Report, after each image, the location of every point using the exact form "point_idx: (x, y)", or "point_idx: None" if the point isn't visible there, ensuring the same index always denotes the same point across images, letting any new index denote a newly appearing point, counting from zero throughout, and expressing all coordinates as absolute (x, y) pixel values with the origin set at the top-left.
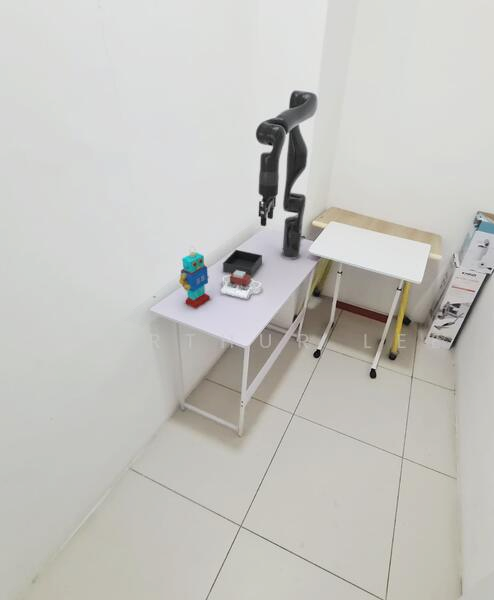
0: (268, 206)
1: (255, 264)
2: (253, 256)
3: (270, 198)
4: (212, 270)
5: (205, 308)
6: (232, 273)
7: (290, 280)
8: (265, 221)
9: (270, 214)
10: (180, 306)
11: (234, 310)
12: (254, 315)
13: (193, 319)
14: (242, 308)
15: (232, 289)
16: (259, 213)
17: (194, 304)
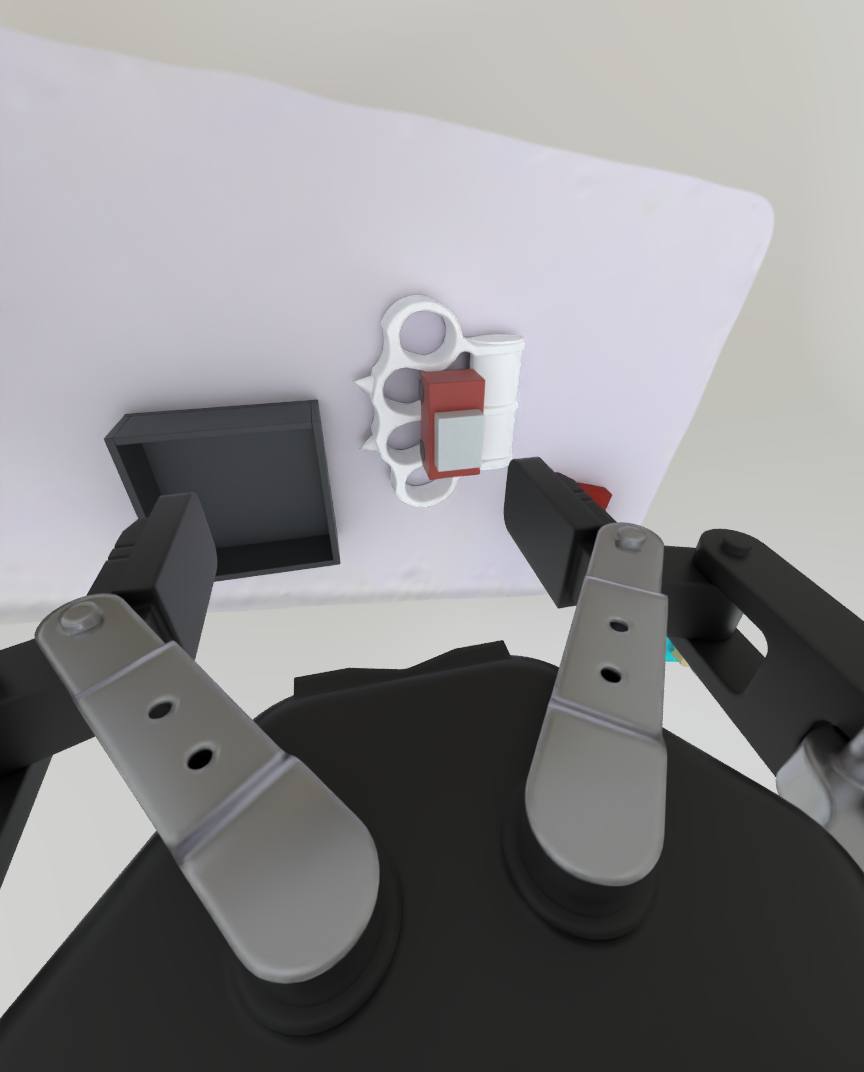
0: (656, 697)
1: (243, 425)
2: (139, 482)
3: (502, 1029)
4: (345, 574)
5: (597, 460)
6: (448, 477)
7: (178, 125)
8: (567, 493)
9: (192, 562)
10: None
11: (591, 352)
12: (613, 241)
13: (660, 460)
14: (571, 324)
15: (500, 424)
16: (749, 649)
17: (610, 498)
